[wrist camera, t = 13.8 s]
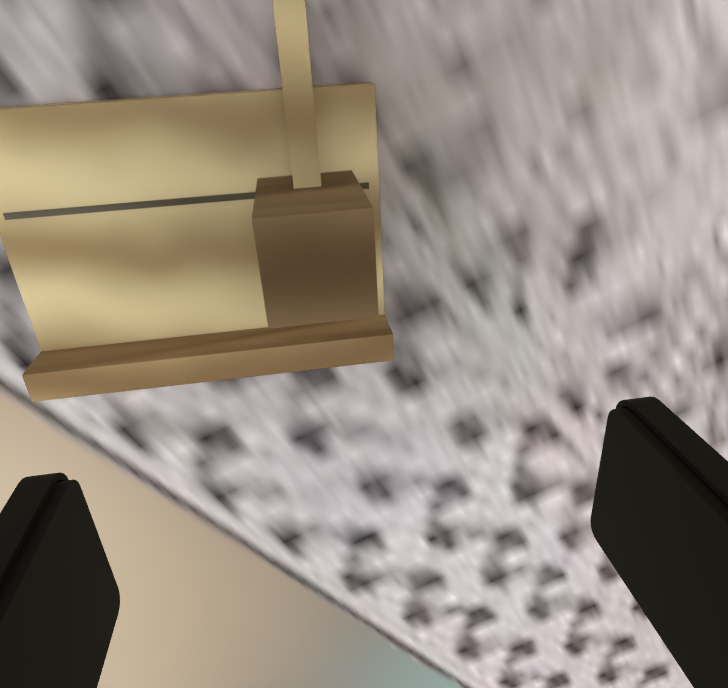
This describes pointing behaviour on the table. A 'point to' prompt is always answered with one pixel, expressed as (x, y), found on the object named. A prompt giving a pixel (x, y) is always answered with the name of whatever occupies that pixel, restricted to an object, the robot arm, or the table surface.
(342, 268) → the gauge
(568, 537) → the table surface
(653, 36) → the table surface
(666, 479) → the robot arm
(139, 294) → the board
